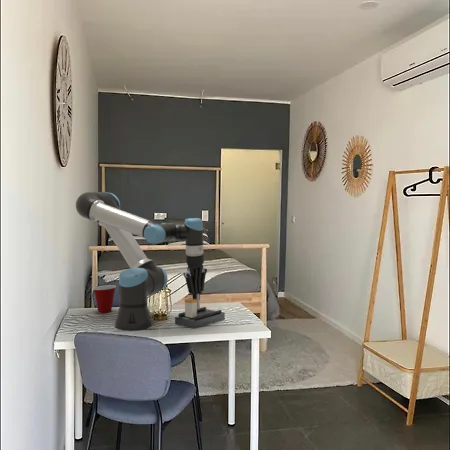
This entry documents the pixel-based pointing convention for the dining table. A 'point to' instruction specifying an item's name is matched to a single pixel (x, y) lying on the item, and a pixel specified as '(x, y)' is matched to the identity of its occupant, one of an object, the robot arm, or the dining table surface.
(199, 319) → the switch panel
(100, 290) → the plastic cup
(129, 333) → the dining table surface
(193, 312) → the switch knob
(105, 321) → the dining table surface
